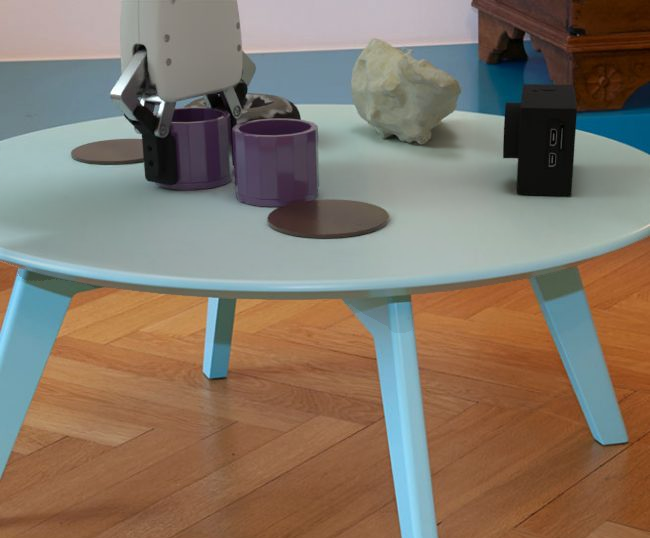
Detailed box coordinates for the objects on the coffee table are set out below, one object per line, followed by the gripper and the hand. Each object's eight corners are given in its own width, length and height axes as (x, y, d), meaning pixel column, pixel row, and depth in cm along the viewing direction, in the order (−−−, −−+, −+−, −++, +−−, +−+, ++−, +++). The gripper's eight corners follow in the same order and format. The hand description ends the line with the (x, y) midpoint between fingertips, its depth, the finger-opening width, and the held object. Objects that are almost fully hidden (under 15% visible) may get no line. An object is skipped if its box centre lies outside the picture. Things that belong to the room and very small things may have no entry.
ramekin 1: (202, 193, 91) (198, 126, 89) (138, 184, 95) (132, 118, 92) (247, 175, 97) (245, 110, 95) (185, 166, 100) (181, 104, 98)
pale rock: (320, 95, 114) (366, 38, 114) (397, 162, 116) (443, 106, 116) (348, 87, 97) (404, 20, 96) (438, 166, 99) (493, 100, 98)
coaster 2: (352, 245, 78) (352, 241, 78) (244, 227, 83) (243, 223, 83) (409, 212, 86) (409, 208, 86) (307, 197, 90) (307, 194, 90)
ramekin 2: (290, 211, 86) (288, 139, 84) (219, 200, 90) (215, 131, 87) (333, 190, 92) (332, 122, 90) (265, 181, 95) (262, 115, 93)
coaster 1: (127, 168, 100) (127, 165, 99) (50, 157, 104) (50, 154, 104) (188, 147, 107) (188, 144, 107) (114, 138, 111) (114, 135, 111)
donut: (313, 152, 104) (312, 109, 102) (184, 161, 102) (181, 117, 100) (289, 126, 114) (288, 86, 113) (172, 134, 112) (170, 93, 111)
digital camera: (505, 162, 99) (509, 82, 96) (568, 164, 98) (574, 83, 96) (501, 194, 90) (504, 106, 87) (571, 196, 89) (577, 107, 86)
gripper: (217, -58, 97) (228, 147, 104) (61, -44, 84) (84, 189, 91) (285, -56, 93) (292, 158, 100) (132, -41, 80) (151, 203, 87)
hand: (193, 171), depth 95 cm, fingers closed on ramekin 1, 6 cm apart
